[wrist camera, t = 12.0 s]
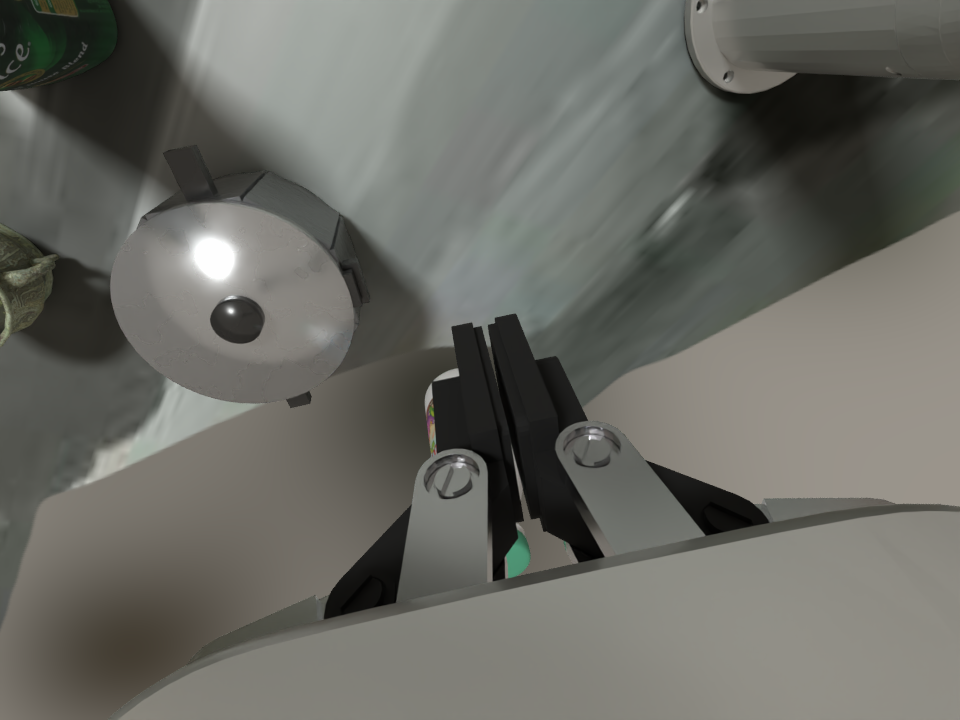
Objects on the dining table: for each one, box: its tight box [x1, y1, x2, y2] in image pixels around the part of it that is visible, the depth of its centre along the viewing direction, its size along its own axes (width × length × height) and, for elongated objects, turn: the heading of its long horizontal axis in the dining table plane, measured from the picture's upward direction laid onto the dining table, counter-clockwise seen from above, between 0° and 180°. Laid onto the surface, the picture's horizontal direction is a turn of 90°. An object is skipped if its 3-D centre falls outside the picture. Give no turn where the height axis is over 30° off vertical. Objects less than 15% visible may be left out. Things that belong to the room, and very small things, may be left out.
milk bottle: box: [425, 368, 530, 578], centre depth 41 cm, size 8×8×20 cm
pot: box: [137, 145, 370, 408], centre depth 35 cm, size 15×20×8 cm
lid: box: [110, 200, 362, 403], centre depth 31 cm, size 15×14×2 cm
